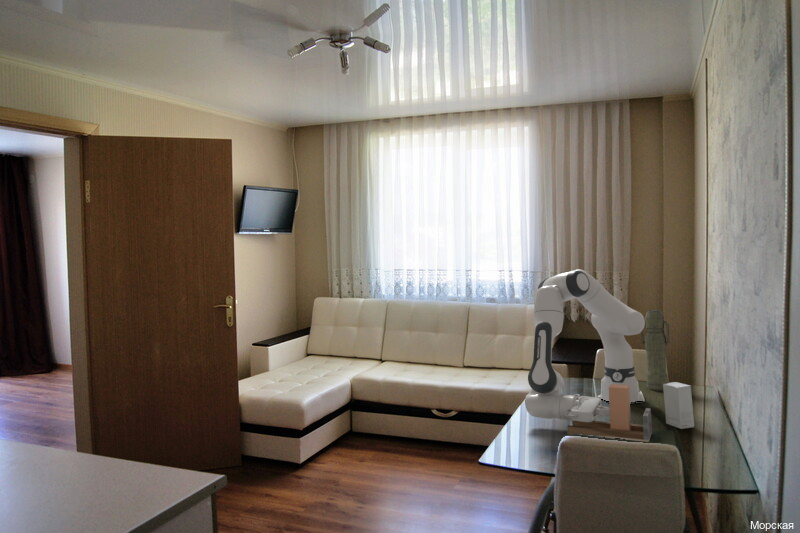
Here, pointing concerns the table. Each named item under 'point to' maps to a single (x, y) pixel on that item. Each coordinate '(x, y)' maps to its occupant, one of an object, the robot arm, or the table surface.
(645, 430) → the chute
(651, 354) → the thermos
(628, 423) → the post
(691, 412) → the skincare box
